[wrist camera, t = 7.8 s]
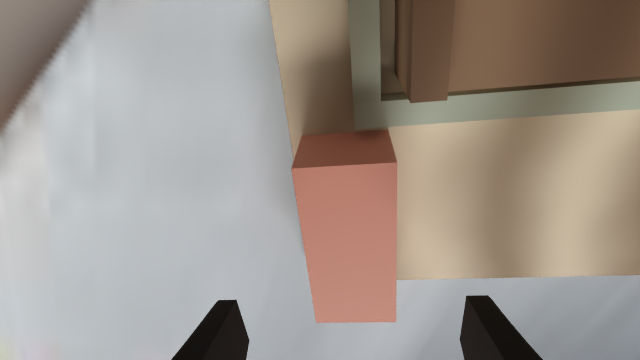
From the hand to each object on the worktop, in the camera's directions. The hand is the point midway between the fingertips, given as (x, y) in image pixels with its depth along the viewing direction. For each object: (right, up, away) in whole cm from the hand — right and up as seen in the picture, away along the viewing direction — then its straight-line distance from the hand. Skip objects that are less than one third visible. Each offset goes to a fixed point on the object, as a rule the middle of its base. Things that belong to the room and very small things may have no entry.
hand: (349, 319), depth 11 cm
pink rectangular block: (0, +3, +5) cm, 6 cm away
